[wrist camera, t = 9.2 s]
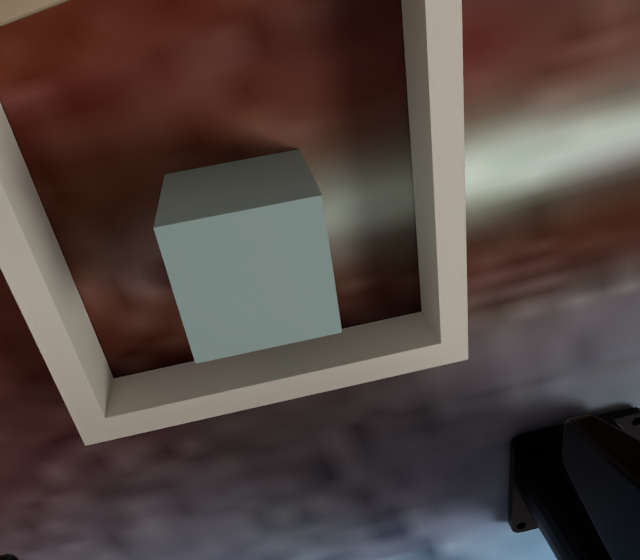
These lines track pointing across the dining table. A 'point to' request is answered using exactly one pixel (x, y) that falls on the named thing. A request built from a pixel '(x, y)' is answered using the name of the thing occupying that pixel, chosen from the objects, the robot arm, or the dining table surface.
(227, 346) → the block teal
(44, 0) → the maple block
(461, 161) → the tray
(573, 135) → the dining table surface
